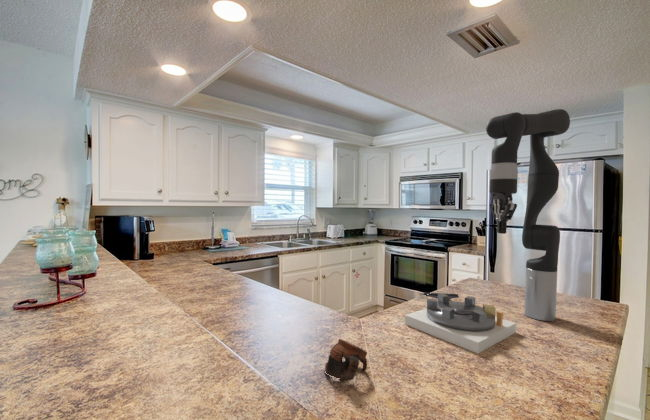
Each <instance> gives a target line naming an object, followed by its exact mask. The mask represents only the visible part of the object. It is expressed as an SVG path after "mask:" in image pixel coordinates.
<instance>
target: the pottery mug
mask: <svg viewBox="0 0 650 420" xmlns="http://www.w3.org/2000/svg"><path fill="white" fill-rule="evenodd" d="M329 353H330V354H329V356H328V359H327V362H326V363H325V365H324V366H325V367H324V368H325V369H324V372H325V371H326V373H327V374H329V375H331V376H334V377H336V378H340V379H341V380H342V377H343V378H344V380H346V381H351V380H354V378H355V376H356V373H357V372H358V369H359V366H360V362H361V364H362V370H363V369H364V370H366V371H367V368H368V359H367V355H368V352H367V351H366V350H365V349H363V348H361V347H359V346H356V345H354V344H353V343H350V342H348V341H347V340H344V339H341V338H339V339H338V342H337V343H335V344H334V345H333V346H332V347H331V348H330V351H329ZM343 358H344V361H343ZM359 361H360V362H359Z"/></svg>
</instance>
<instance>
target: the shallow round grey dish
mask: <svg viewBox="0 0 650 420" xmlns="http://www.w3.org/2000/svg"><path fill="white" fill-rule="evenodd" d="M445 294H446V293H445ZM445 294H438V298H426V308H427V317H428V318H429V319H430V320H432V321H433V322H435V323H437V324H440V325H442V326H445V327H449V328H453V329H458V330H464V331H487V330H490V329H492V328H494V327H495V317H496V308H497V307H496V306H495V305H493V304H484V303H483V304H482V306H479V305H476V297H473V296H470V295H469V296H466V297H464V301H463V302H462V301H455V300H452V301H449V300H450V299H449V296H448V295H445Z"/></svg>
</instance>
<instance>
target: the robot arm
mask: <svg viewBox="0 0 650 420" xmlns="http://www.w3.org/2000/svg"><path fill="white" fill-rule="evenodd" d="M570 125H571V118H570V115H569V113H568V111H567V110H565V109H563V108H559V109H558V108H556V109H553V110H552V109H551V110H547V111H543V112H539V113H520V112H515V111H514V112H510V113H507V114H503V115H497V116H494V117H492V118H491V119H489V120H488V121H487V123H486V127H485V131H486V134H487V136H488V137H490V138H492V139H493V140H498V139H499V140H500V139H504V138H505V140H504V142H502V143H500V144H497V145H495V146H494V147H493V148H492V150H491V162H490V163H491V164H490V171H489V193H490V194H494V195H493V201H492V202H493V203H490V204H489V208H490V211H491V214H492V218H493V219H494V220H495V221H496V223H497V224H496V233H498V234H504V235H505V234H507V228H508V227H507V223H508V222H509V221H510V220H512V218H513V216H514V214H515V212H516V209H517V207H518V204H517V203H513V194H517V193H518V173H519V172H518V171H519V170H518V151H519V147H520V144H521V140H522V137H524V136H529V144H530V145H529V149H530V150H529V152H530V153H529V165H528V167H529V168H528V175H527V190H526V191H527V192H526V193H527V194H526V207H525V213H524V214H525V215H524V220H523V227H522V234H521V241H522V246H523V248H525V249H527V250H535V251H544V252H545V254H544V255H542V256H541V257H535V258H529V259H527V260H526V263H525V290H524V312H523V313H524V316H527V317H528V318H531V319H534V320H538V321H546V322H553V321H555V320H556V318H557V317H556V313H557V312H556V311H557V294H558V293H557V292H558V291H557V288H558V265H559V251H560V242H561V232H560V229H559V227H558V226H557V225H549V224H537V221H538V217H539V215H540V213H541V212H542V210H543V209H544V207H545V206H546V205H548V203H549V202H550V200H552V198H553V197H554V196H555V194H556V193H557V192H558V190H559V182H560V179H559V178H560V170H559V167H558V166H557V164H556V163H555V161H553V159H552V158H551V157H550V155H549V154H548V152H547V150H546V147H545V138H548V137H555V136H559V135H562V134H564V133H566V132H568V130H569V128H570Z"/></svg>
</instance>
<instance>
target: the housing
mask: <svg viewBox="0 0 650 420" xmlns="http://www.w3.org/2000/svg"><path fill="white" fill-rule="evenodd" d="M404 316H405V317H404V325H407V326H408V327H411V328H413V329H416V330H418V331H421V332H423V333H426V334H428V335H431V336H433V337H435V338H437V339H440V340H442V341H446V342H448V343H450V344H453V345H456V346H458V347H461V348H462V349H465V350H468V351H470V352H473V353H475V354H480V353H482V352H484V351H486V350H487V349H489V348H490V347H492V346H493V347H494V345H497V344H498V343H499V342H500V343H501V341H504V340H505V339H507V338H509V337H511V336H513V335H514V334H516V333H517V323H516V322H514V321H510V320H507V319H503V318H504V317H503V316H504V312H503V311H497V312H496V316H495V327H494V328H492V329H490V330H487V331H464V330H458V329H453V328H449V327H445V326H442V325H440V324H437V323H435V322H433V321H432V320H430V319H429V318H428V317H427V307H426V308H423V309H420V310H418V311H414V312H411V313H408V314H405V315H404Z"/></svg>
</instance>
